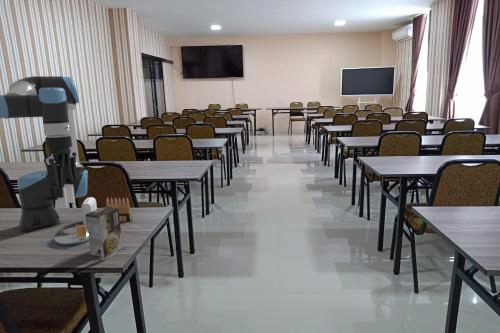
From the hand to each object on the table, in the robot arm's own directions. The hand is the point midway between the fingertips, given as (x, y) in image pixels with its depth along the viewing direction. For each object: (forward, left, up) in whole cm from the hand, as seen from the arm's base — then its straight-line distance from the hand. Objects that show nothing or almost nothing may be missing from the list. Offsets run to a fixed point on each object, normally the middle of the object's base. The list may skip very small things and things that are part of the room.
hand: (67, 204), depth 117 cm
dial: (-8, +8, -17) cm, 21 cm away
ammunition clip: (-6, +29, -19) cm, 35 cm away
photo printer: (-16, +23, -19) cm, 34 cm away
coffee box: (+11, +4, -19) cm, 22 cm away
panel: (-8, +8, -19) cm, 22 cm away
